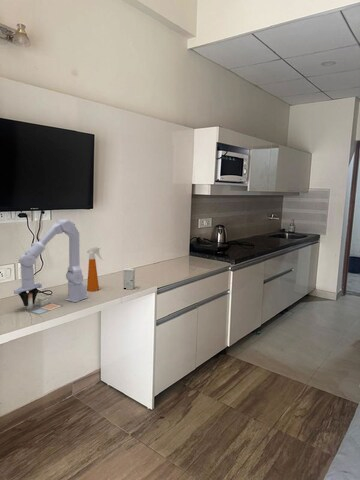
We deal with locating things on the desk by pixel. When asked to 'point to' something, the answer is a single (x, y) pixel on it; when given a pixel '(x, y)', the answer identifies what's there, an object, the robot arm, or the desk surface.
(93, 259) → the spray bottle
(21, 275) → the robot arm
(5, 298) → the desk surface
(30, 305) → the cylinder
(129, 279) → the skincare box
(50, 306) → the picture sheet
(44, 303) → the button housing
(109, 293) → the desk surface
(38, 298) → the button
